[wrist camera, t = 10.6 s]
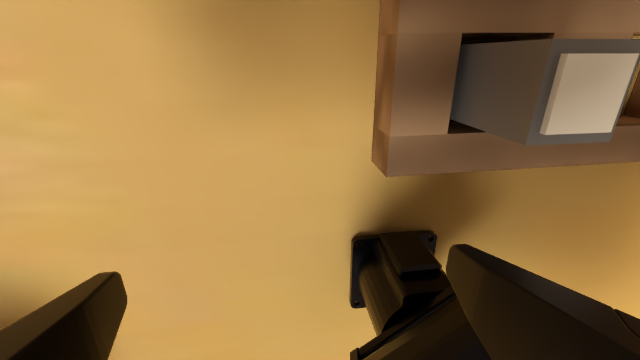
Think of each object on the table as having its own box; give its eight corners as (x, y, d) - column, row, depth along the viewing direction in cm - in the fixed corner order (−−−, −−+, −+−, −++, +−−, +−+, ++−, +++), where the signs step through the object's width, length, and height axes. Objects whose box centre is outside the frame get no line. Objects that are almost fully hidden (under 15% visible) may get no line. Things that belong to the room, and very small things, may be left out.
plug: (489, 111, 20) (616, 143, 13) (432, 113, 20) (530, 147, 12) (502, 46, 19) (656, 38, 11) (441, 46, 18) (559, 38, 11)
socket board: (650, 145, 23) (713, 160, 20) (371, 161, 21) (390, 180, 17) (745, -85, 18) (851, -116, 15) (386, -105, 15) (417, -150, 12)
